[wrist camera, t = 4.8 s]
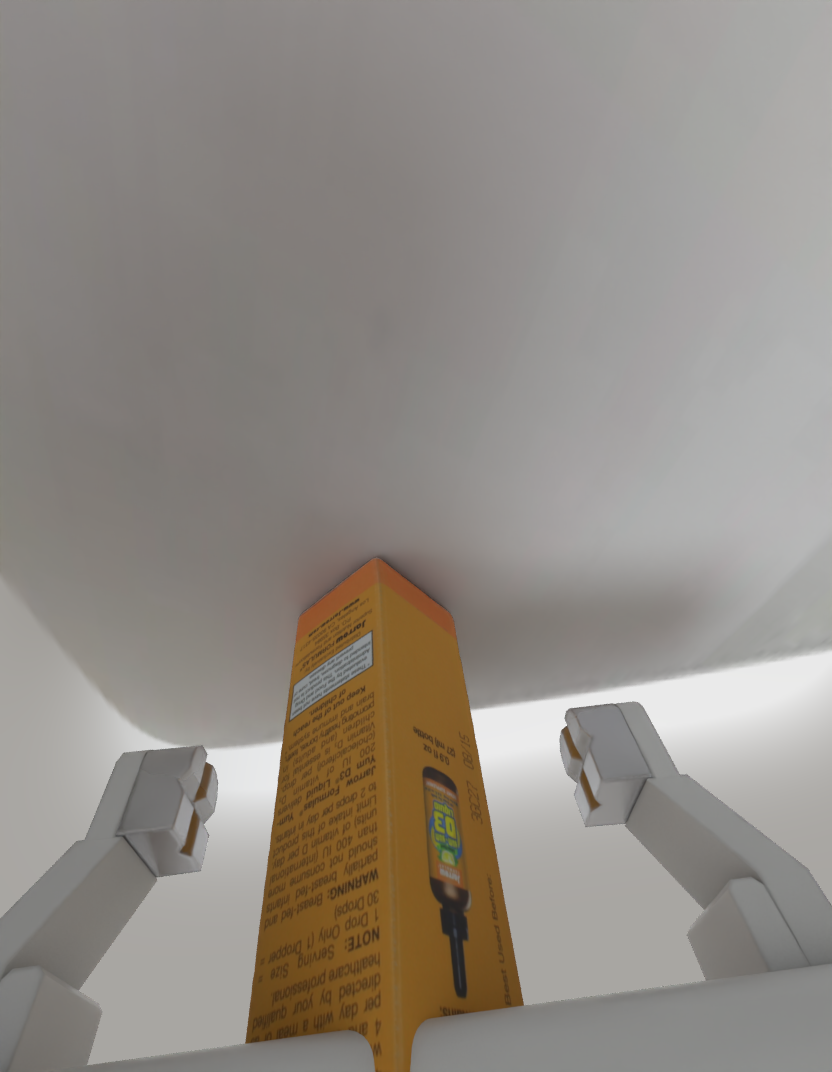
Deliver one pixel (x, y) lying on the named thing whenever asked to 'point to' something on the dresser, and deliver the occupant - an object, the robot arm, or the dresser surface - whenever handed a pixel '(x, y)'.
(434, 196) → the dresser surface
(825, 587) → the dresser surface
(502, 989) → the supplement box
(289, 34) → the dresser surface
